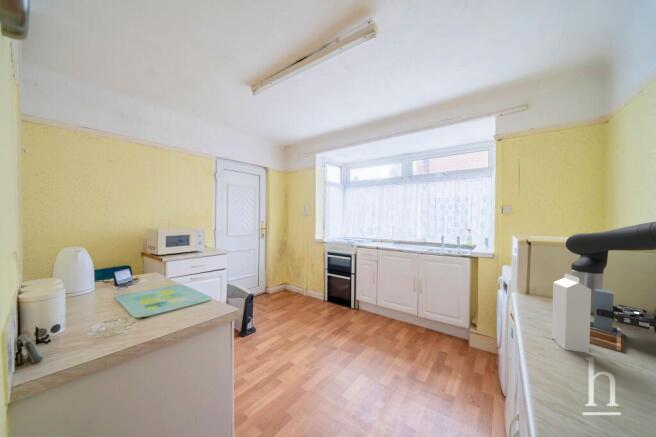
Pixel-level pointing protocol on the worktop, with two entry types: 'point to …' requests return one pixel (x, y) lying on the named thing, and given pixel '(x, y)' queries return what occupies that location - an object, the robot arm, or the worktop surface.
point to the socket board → (607, 338)
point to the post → (606, 303)
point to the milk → (571, 314)
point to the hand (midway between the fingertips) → (597, 308)
